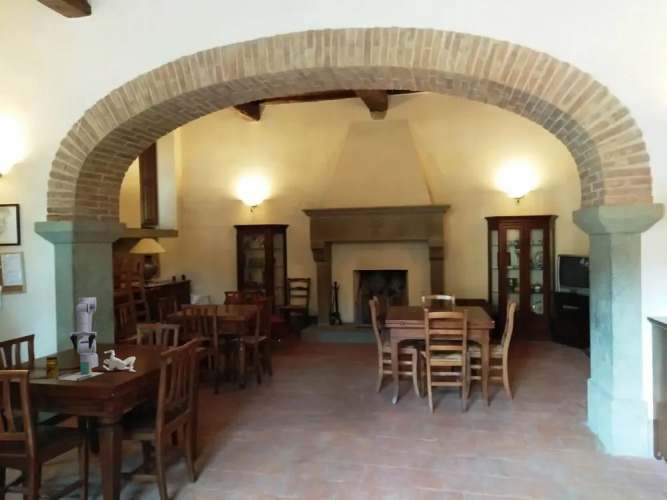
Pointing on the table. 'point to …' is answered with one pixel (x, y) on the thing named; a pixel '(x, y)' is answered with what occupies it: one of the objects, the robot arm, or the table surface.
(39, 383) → the table surface
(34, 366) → the table surface
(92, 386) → the table surface
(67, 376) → the board
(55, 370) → the condiment
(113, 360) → the person figurine
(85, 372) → the tile
